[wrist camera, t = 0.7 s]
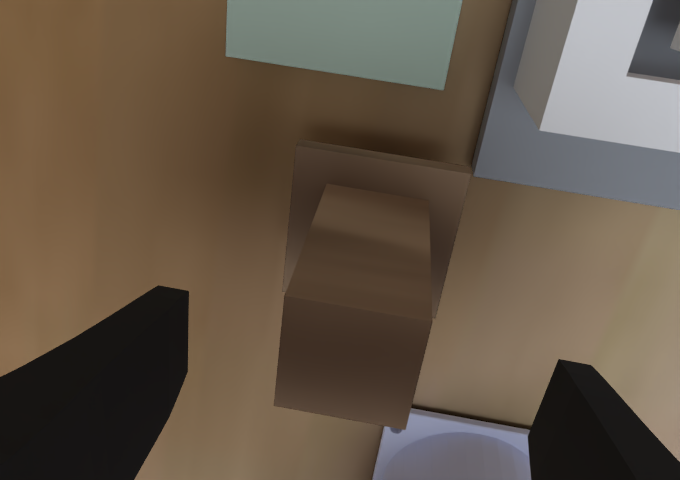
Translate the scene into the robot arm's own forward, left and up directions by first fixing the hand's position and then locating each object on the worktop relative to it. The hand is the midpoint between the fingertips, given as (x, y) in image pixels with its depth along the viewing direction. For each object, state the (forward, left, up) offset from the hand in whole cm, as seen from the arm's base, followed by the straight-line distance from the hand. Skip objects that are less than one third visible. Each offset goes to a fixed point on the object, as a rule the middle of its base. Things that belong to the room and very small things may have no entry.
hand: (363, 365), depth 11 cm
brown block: (-1, 0, -10) cm, 10 cm away
